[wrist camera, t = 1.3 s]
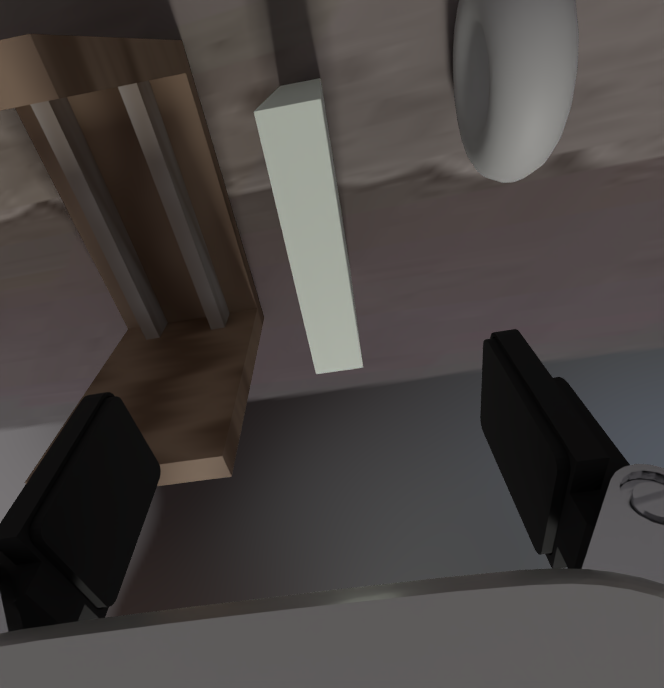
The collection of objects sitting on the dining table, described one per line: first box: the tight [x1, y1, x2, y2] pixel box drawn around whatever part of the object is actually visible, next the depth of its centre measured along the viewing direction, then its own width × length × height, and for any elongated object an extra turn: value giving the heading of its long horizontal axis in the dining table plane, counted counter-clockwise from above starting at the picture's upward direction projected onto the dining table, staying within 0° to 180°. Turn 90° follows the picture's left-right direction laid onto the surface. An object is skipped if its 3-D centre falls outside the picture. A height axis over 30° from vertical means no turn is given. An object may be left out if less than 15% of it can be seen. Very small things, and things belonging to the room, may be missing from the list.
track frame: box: [0, 34, 264, 486], centre depth 23 cm, size 10×18×15 cm, turn 9°
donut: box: [453, 0, 579, 183], centre depth 21 cm, size 10×3×10 cm, turn 11°
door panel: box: [254, 78, 363, 374], centre depth 24 cm, size 2×12×12 cm, turn 10°
